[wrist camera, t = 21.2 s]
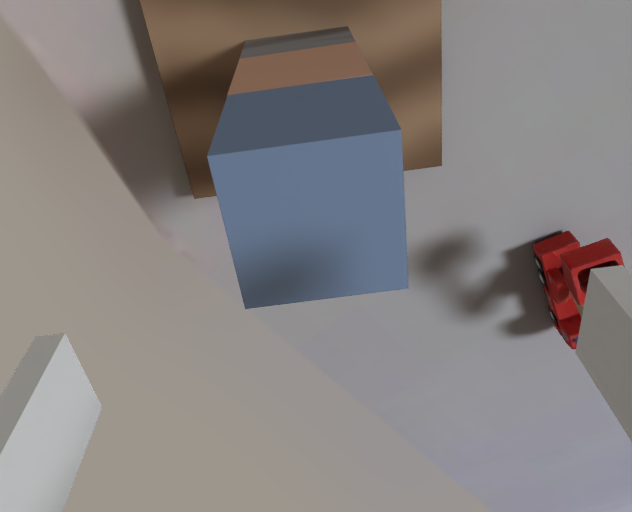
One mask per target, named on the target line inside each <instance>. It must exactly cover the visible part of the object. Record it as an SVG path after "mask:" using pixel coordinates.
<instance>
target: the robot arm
mask: <svg viewBox="0 0 632 512" xmlns="http://www.w3.org/2000/svg"><path fill="white" fill-rule="evenodd" d="M576 354H577V355H578V357H579V359H580V360H581V362H582V363H583V365H584V367H585V368H586V370H587V371H588V373H589V375H590V376H591V378H592V379H593V381H594V383H595V384H596V386H597V387H598V389H599V390H600V392H601V394H602V395H603V397H604V398H605V400H606V402H607V403H608V405H609V406H610V408H611V410H612V411H613V413H614V414H615V416H616V418H617V419H618V421H619V422H620V424H621V425H622V427H623V429H624V430H625V432H626V433H627V435H628V437H629V438H630V440H631V441H632V275H631V274H630V273H629V272H628V271H627V269H626V268H625V267H624V266H623V265H619V266H611V267H603V268H594V269H591V270H590V275H589V281H588V286H587V292H586V297H585V303H584V308H583V314H582V319H581V325H580V330H579V336H578V341H577V347H576ZM101 408H102V406H101V404H100V402H99V400H98V398H97V396H96V394H95V392H94V390H93V388H92V386H91V385H90V382H89V380H88V378H87V376H86V374H85V372H84V371H83V368H82V366H81V364H80V362H79V360H78V358H77V356H76V354H75V352H74V351H73V348H72V347H71V345H70V342H69V340H68V338H67V336H66V334H65V333H61V334H53V335H46V336H37V337H35V338H34V340H33V342H32V343H31V345H30V347H29V348H28V350H27V352H26V353H25V355H24V357H23V358H22V360H21V362H20V364H19V365H18V367H17V369H16V370H15V372H14V374H13V375H12V377H11V379H10V380H9V382H8V384H7V385H6V387H5V389H4V390H3V392H2V394H1V395H0V512H62V511H63V508H64V506H65V503H66V501H67V498H68V495H69V493H70V490H71V487H72V485H73V482H74V480H75V477H76V474H77V471H78V469H79V466H80V463H81V461H82V458H83V456H84V453H85V451H86V448H87V445H88V443H89V439H90V437H91V434H92V432H93V429H94V427H95V424H96V422H97V419H98V416H99V414H100V411H101Z"/></svg>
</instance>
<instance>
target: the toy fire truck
mask: <svg viewBox="0 0 632 512" xmlns="http://www.w3.org/2000/svg"><path fill="white" fill-rule="evenodd" d="M533 249H534V252H535V254H536V256H534V259H535V262H536V265H537V266H538V268H539V270H540V271H538V275H539V278H540V280H541V282H542V284H543V286H544V290H545V294H546V297H547V301H548V305H549V307H550V308H549V313H550V316H551V318H552V320H553V322H554V325H555V327H556V329H557V330H558V332H559V333H560V335H561V336H562V337H563V339H564V340H565V342H566V343H567V344H568V345H569V346H570V347H571V348H572V349H576V347H577V341H578V336H579V330H580V325H581V319H582V314H583V308H584V303H585V297H586V292H587V286H588V281H589V275H590V270H591V269H594V268H603V267H611V266H619V265H623V266H624V263H623V260H622V256H621V253H620V251H619V250H618V249H617V248H616V247H615V245H614V244H613V243H612V242H611V240H610V239H608V238H606V239H603V240H600V241H598V242H595V243H592V244H589V245H586V246H583V247H580V243H579V242H578V240H577V239H576V238H575V237H574V236H573V235H572V234H571V232H570V231H566V232H564V233H561V234H558V235H556V236H553V237H551V238H548V239H545V240H543V241H541V242H538V243H535V244H533Z"/></svg>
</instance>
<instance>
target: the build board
mask: <svg viewBox="0 0 632 512" xmlns="http://www.w3.org/2000/svg"><path fill="white" fill-rule="evenodd" d="M140 3H141V7H142V11H143V14H144V18H145V22H146V25H147V29H148V32H149V36H150V40H151V43H152V47H153V51H154V54H155V58H156V61H157V65H158V69H159V72H160V76H161V80H162V83H163V87H164V91H165V94H166V98H167V101H168V105H169V109H170V112H171V116H172V120H173V123H174V127H175V130H176V134H177V138H178V141H179V145H180V149H181V152H182V156H183V159H184V163H185V167H186V170H187V174H188V178H189V181H190V185H191V189H192V192H193V196H194V199H196V198H203V197H211V196H217V194H216V190H215V186H214V182H213V178H212V174H211V170H210V166H209V162H208V158H207V155H208V152H209V149H210V146H211V143H212V140H213V137H214V134H215V131H216V128H217V125H218V122H219V119H220V117H221V114H222V111H223V108H224V105H225V102H226V99H227V94H228V91H229V88H230V85H231V82H232V79H233V77H234V74H235V71H236V68H237V65H238V62H239V59H242V58H248V57H255V56H262V55H269V54H275V53H282V52H289V51H296V50H302V49H309V48H316V47H323V46H330V45H336V44H343V43H350V42H357V44H358V46H359V48H360V50H361V52H362V54H363V56H364V58H365V60H366V62H367V64H368V66H369V68H370V70H371V72H372V74H373V75H374V76H375V78H376V80H377V82H378V84H379V86H380V88H381V90H382V92H383V94H384V96H385V98H386V100H387V102H388V104H389V106H390V108H391V110H392V112H393V114H394V116H395V118H396V120H397V122H398V124H399V126H400V128H401V130H402V153H403V171H406V170H413V169H421V168H429V167H436V166H442V59H441V0H140Z"/></svg>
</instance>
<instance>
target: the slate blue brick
mask: <svg viewBox="0 0 632 512" xmlns="http://www.w3.org/2000/svg"><path fill="white" fill-rule="evenodd" d="M207 158H208V162H209V166H210V170H211V174H212V178H213V182H214V186H215V190H216V194H217V198H218V202H219V206H220V210H221V214H222V218H223V222H224V226H225V230H226V234H227V238H228V242H229V246H230V250H231V254H232V258H233V262H234V266H235V270H236V274H237V278H238V282H239V286H240V290H241V294H242V298H243V302H244V306H245V309H249V308H257V307H264V306H272V305H280V304H288V303H296V302H304V301H312V300H320V299H328V298H336V297H344V296H352V295H359V294H367V293H375V292H383V291H391V290H399V289H407V288H408V266H407V243H406V220H405V198H404V175H403V153H402V130H401V128H400V126H399V124H398V122H397V120H396V118H395V116H394V114H393V112H392V110H391V108H390V106H389V104H388V102H387V100H386V98H385V96H384V94H383V92H382V90H381V88H380V86H379V84H378V82H377V80H376V78H375V76H374V75H368V76H361V77H354V78H346V79H339V80H332V81H325V82H318V83H311V84H304V85H297V86H289V87H282V88H275V89H268V90H261V91H254V92H247V93H240V94H232V95H228V96H227V99H226V102H225V105H224V108H223V111H222V114H221V117H220V119H219V122H218V125H217V128H216V131H215V134H214V137H213V140H212V143H211V146H210V149H209V152H208V155H207Z"/></svg>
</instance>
